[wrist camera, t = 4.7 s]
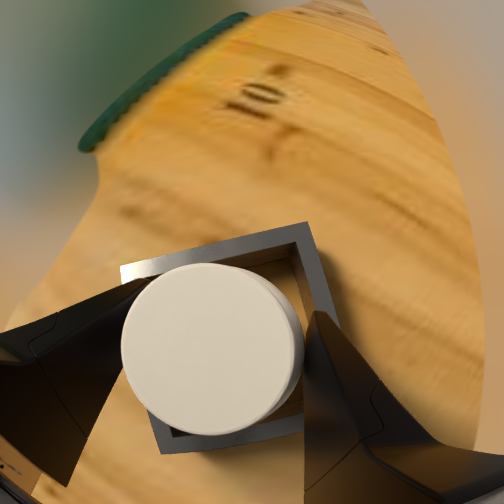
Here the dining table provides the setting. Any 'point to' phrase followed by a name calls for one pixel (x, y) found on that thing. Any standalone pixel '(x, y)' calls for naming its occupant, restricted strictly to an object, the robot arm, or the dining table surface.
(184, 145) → the dining table surface
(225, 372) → the supplement bottle
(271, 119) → the dining table surface
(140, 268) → the collar
